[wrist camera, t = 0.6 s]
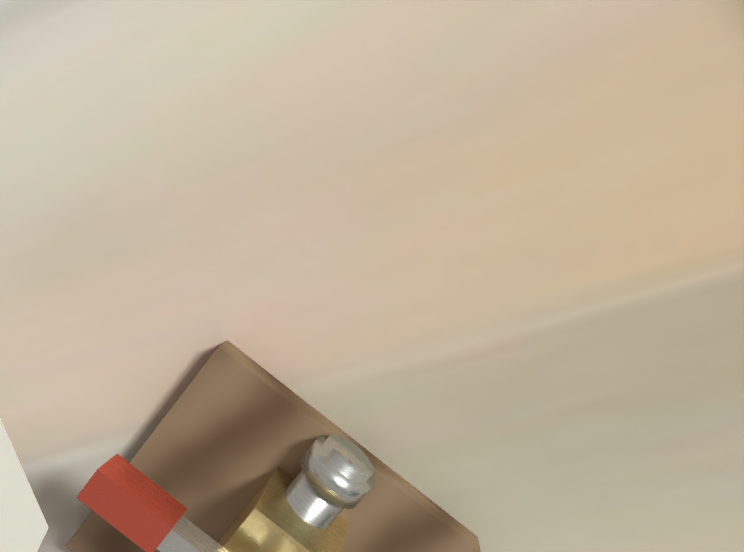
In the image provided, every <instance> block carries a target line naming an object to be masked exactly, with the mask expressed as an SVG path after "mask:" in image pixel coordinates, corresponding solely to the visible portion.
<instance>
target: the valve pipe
mask: <svg viewBox="0 0 744 552" xmlns="http://www.w3.org/2000/svg"><path fill="white" fill-rule="evenodd" d="M300 466H301V469H302V470H301V471H300V473H299V474H298V475H297V476H296V478H295V479H293V478H292V477H290V476H289V475H288V474H286V473H285V472H284V471H283V470H281V469H280V468H279V467H277V468H276V469H275V470H274V472H273V473H272V474H271V475H270V477H269V478H268V479H267V480H266V482H265V483H264V484H263V485H262V487H261V488H260V489H259V490H258V492H257V493H256V494H255V495H254V497H253V498H252V499H251V500H250V502H249V503H248V504H247V505H246V507H245V508H244V509H243V510H242V512H241V513H240V514H239V515H238V517H237V518H236V519H235V520H234V522H233V523H232V524H231V525H230V527H229V528H228V529H227V530H226V532H225V533H224V535H223V536H222V538H221V540H220V541H219V544H220V545H221V546H222V547H224V548H225V549H226V550H227V551H229V552H342V549H343V544H344V540H345V535H346V531H347V526H348V521H346V520H345V519H344V518H343V517H341V516H340V515H339V514H340V513H341V512H342V511H343V509H344V508H346V509H353V508H355V507H357V505H358V504H359V503H360V502H361V500H362V499H363V498H364V497H365V496H366V494H367V493H368V492H369V491H370V490H371V488H372V487H373V478H372V474H373V473H374V467H373V465H372V463H371V461H370V460H369V458H368V457H367V456H366V454H365V453H364V452H363V451H362V450H361V449H360V448H359V447H358V446H356V445H355V444H354V443H353V442H351V441H350V440H348V439H347V438H345V437H343V436H341V435H338V434H331V435H330V436H329V437H318V438H317V439H316V440H315V442H314V443H313V444H312V445H311V447H310V448H309V449H308V450H307V452H306V453H305V454H304V455H303V456H302V458H301V460H300Z"/></svg>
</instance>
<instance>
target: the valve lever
mask: <svg viewBox="0 0 744 552" xmlns="http://www.w3.org/2000/svg"><path fill="white" fill-rule="evenodd" d="M76 498H78V499H79V500H80V501H81V502H83V503H84V504H85V505H86V506H88V507H89V508H90V509H92V510H93V511H94V512H95V513H97V514H98V515H99V516H100V517H102V518H103V519H104V520H106V521H107V522H108V523H109V524H111V525H112V526H113V527H115V528H116V529H117V530H118V531H120V532H121V533H122V534H123V535H125V536H126V537H127V538H129V539H130V540H131V541H132V542H134V543H135V544H136V545H138V546H139V547H140V548H141V549H143V550H144V551H145V552H154V551H155V550H156V549H157V550H159V551H160V552H229V551H227V550H226V549H225V548H224V547H222V546H221V545H220V544H219V543H217V542H216V541H215V540H213V539H212V538H211V537H210V536H208V535H207V534H206V533H205V532H203V531H202V530H201V529H199V528H198V527H197V526H196V525H194V524H193V523H192V522H191V521H189V520H188V519H187V518H185V517H184V516H183V514H184V513H185V511H186V510H187V508H186V507H185V506H183V505H182V504H181V503H180V502H178V501H177V500H176V499H174V498H173V497H172V496H171V495H169V494H168V493H167V492H166V491H164V490H163V489H162V488H160V487H159V486H158V485H157V484H155V483H154V482H153V481H152V480H150V479H149V478H148V477H146V476H145V475H144V474H143V473H141V472H140V471H139V470H138V469H136V468H135V467H134V466H132V465H131V464H130V463H129V462H127V461H126V460H125V459H123V458H122V457H121V456H120V455H118V454H116V455H115V456H114V457H112V458H111V459H110V460H109V461H107V462H106V463H105V464H104V465H102V466H101V467H100V468H99V469H97V471H96V472H95V473H94V475H93V476H92V477H91V479H90V480H89V481H88V483H87V484H86V485H85V487H84V488H83V489H82V491H81V492H80V493H79V494H78V496H77V497H76Z"/></svg>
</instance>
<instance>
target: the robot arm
mask: <svg viewBox="0 0 744 552" xmlns="http://www.w3.org/2000/svg"><path fill="white" fill-rule="evenodd" d="M48 528H49V527H48V525H47V523H46V520H45V518H44V516H43V513H42V511H41V509H40V507H39V504H38V502H37V500H36V498H35V495H34V493H33V491H32V489H31V486H30V484H29V482H28V480H27V477H26V475H25V473H24V471H23V468H22V466H21V464H20V462H19V459H18V457H17V455H16V453H15V450H14V448H13V446H12V444H11V441H10V439H9V437H8V435H7V432H6V430H5V428H4V425H3V423H2V421H1V419H0V552H37V551H38V549H39V547H40V545H41V543H42V541H43V538H44V536H45V534H46V532H47V530H48Z"/></svg>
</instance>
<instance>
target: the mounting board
mask: <svg viewBox="0 0 744 552" xmlns="http://www.w3.org/2000/svg"><path fill="white" fill-rule="evenodd" d="M331 434H338V435H341V436H343V437H345V438H347V439H348V440H350V441H351V442H353V443H354V444H355V445H356V446H358V447H359V448H360V449H361V450H362V451H363V452H364V453H365V454H366V456H367V457H368V458H369V460H370V461H371V463H372V465H373V467H374V473H373V474H372V478H373V487H372V488H371V490H370V491H369V492H368V493H367V494H366V496H365V497H364V498H363V499H362V500H361V502H360V503H359V504H358V505H357V507H355V508H353V509H346V508H344V509H343V511H342V512H341V513H340V514H339V515H340V516H341V517H343V518H344V519H345V520H346V521H348V526H347V531H346V535H345V540H344V544H343V549H342V552H480V547H479V542H478V537H477V536H476V535H474V534H473V533H472V532H471V531H469V530H468V529H467V528H466V527H464V526H463V525H462V524H460V523H459V522H458V521H457V520H455V519H454V518H453V517H452V516H450V515H449V514H448V513H446V512H445V511H444V510H443V509H441V508H440V507H439V506H438V505H436V504H435V503H434V502H432V501H431V500H430V499H429V498H427V497H426V496H425V495H424V494H422V493H421V492H420V491H418V490H417V489H416V488H415V487H413V486H412V485H411V484H410V483H408V482H407V481H406V480H404V479H403V478H402V477H401V476H399V475H398V474H397V473H396V472H394V471H393V470H392V469H390V468H389V467H388V466H387V465H385V464H384V463H383V462H382V461H380V460H379V459H378V458H376V457H375V456H374V455H373V454H371V453H370V452H369V451H368V450H366V449H365V448H364V447H362V446H361V445H360V444H359V443H357V442H356V441H355V440H354V439H352V438H351V437H350V436H348V435H347V434H346V433H345V432H343V431H342V430H341V429H340V428H338V427H337V426H336V425H334V424H333V423H332V422H331V421H329V420H328V419H327V418H326V417H324V416H323V415H322V414H320V413H319V412H318V411H317V410H315V409H314V408H313V407H312V406H310V405H309V404H308V403H306V402H305V401H304V400H303V399H301V398H300V397H299V396H298V395H296V394H295V393H294V392H292V391H291V390H290V389H289V388H287V387H286V386H285V385H284V384H282V383H281V382H280V381H278V380H277V379H276V378H275V377H273V376H272V375H271V374H270V373H268V372H267V371H266V370H264V369H263V368H262V367H261V366H259V365H258V364H257V363H256V362H254V361H253V360H252V359H250V358H249V357H248V356H247V355H245V354H244V353H243V352H242V351H240V350H239V349H238V348H236V347H235V346H234V345H233V344H231V343H230V342H229V341H228V340H227V341H226V342H224V343H223V344H221V345H220V346H218V348H217V349H216V350H215V351H214V353H213V354H212V355H211V357H210V358H209V359H208V361H207V362H206V363H205V365H204V366H203V367H202V368H201V370H200V371H199V372H198V374H197V375H196V376H195V378H194V379H193V380H192V382H191V383H190V384H189V385H188V387H187V388H186V389H185V391H184V392H183V393H182V395H181V396H180V397H179V399H178V400H177V401H176V402H175V404H174V405H173V406H172V408H171V409H170V410H169V412H168V413H167V414H166V416H165V417H164V418H163V419H162V421H161V422H160V423H159V425H158V426H157V427H156V429H155V430H154V431H153V433H152V434H151V435H150V436H149V438H148V439H147V440H146V442H145V443H144V444H143V446H142V447H141V448H140V450H139V451H138V452H137V453H136V455H135V456H134V457H133V459H132V460H131V461H130V464H131V465H132V466H134V467H135V468H136V469H138V470H139V471H140V472H141V473H143V474H144V475H145V476H146V477H148V478H149V479H150V480H152V481H153V482H154V483H155V484H157V485H158V486H159V487H160V488H162V489H163V490H164V491H166V492H167V493H168V494H169V495H171V496H172V497H173V498H174V499H176V500H177V501H178V502H180V503H181V504H182V505H183V506H185V507H186V508H187V510H186V511H185V513H184V514H183V516H184V517H185V518H187V519H188V520H189V521H191V522H192V523H193V524H194V525H196V526H197V527H198V528H199V529H201V530H202V531H203V532H205V533H206V534H207V535H208V536H210V537H211V538H212V539H213V540H215V541H216V542H217V543H219V541H220V540H221V538H222V536H223V535H224V533H225V532H226V530H227V529H228V528H229V527H230V525H231V524H232V523H233V522H234V520H235V519H236V518H237V517H238V515H239V514H240V513H241V512H242V510H243V509H244V508H245V507H246V505H247V504H248V503H249V502H250V500H251V499H252V498H253V497H254V495H255V494H256V493H257V492H258V490H259V489H260V488H261V487H262V485H263V484H264V483H265V482H266V480H267V479H268V478H269V477H270V475H271V474H272V473H273V472H274V470H275V469H276V468H277V467H279V468H280V469H281V470H283V471H284V472H285V473H286V474H288V475H289V476H290V477H292V478H293V479H295V478H296V476H297V475H298V474H299V473H300V471H301V470H302V469H301V466H300V460H301V458H302V456H303V455H304V454H305V453H306V452H307V450H308V449H309V448H310V447H311V445H312V444H313V443H314V442H315V440H316V439H317V438H318V437H329V436H330V435H331ZM66 547H68V548H69V549H70V550H71V551H73V552H145V551H144V550H143V549H141V548H140V547H139V546H138V545H136V544H135V543H134V542H132V541H131V540H130V539H129V538H127V537H126V536H125V535H123V534H122V533H121V532H120V531H118V530H117V529H116V528H115V527H113V526H112V525H111V524H109V523H108V522H107V521H106V520H104V519H103V518H102V517H100V516H99V515H98V514H97V513H95V512H94V511H92V512H91V514H90V515H89V516H88V518H87V519H86V520H85V521H84V523H83V524H82V525H81V527H80V528H79V529H78V531H77V532H76V533H75V534H74V536H73V537H72V538H71V540H70V541H69V542H68V544H67V545H66ZM154 552H160V551H159V550H157V549H156V550H155V551H154Z"/></svg>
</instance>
